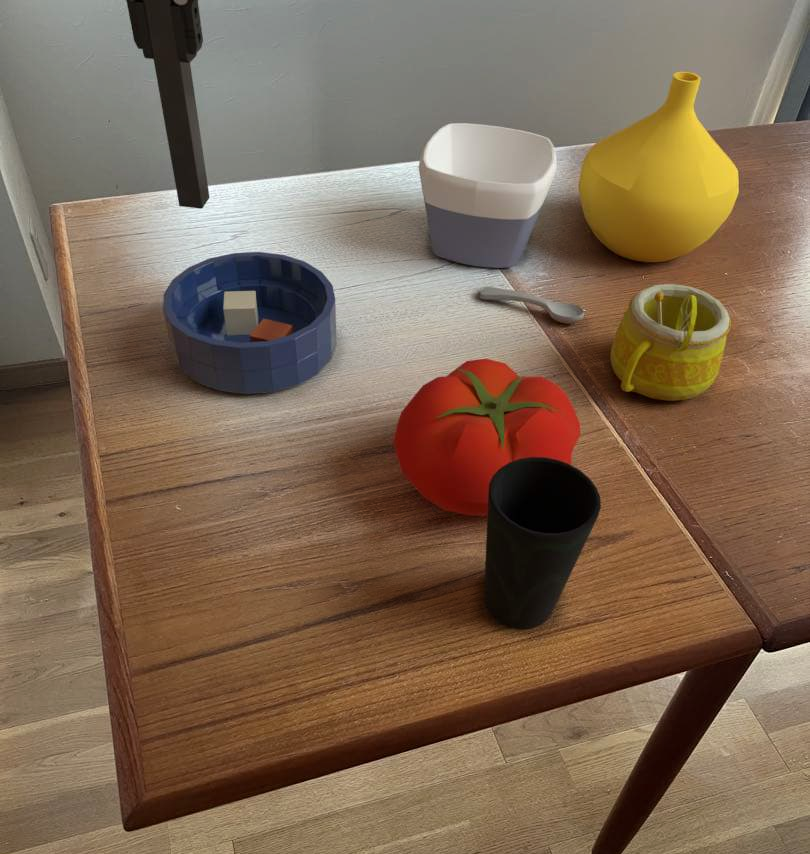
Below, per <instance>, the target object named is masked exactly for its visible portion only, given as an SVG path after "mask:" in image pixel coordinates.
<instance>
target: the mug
mask: <svg viewBox="0 0 810 854" xmlns="http://www.w3.org/2000/svg"><path fill="white" fill-rule="evenodd" d="M731 326H732V318H731V316H730V314H729V313H728V311H727V309H726V308H725V307H724V305H723V304H722V302H721V301H720V300H718V299H717V298H715V297H713V296H712V295H710V294H709V293H708V292H706V291H703V290H701V289H698V288H695V287H692V286H689V285H682V284H675V283H663V284H654V285H652V286H649V287H646V288H644V289H641V290H639V291H638V292H637V293H636V294H634V295H633V296H632V298H631V299H630V300H629V302H628V308H627V309H626V311H625V312H624V315H623V317H622V319H621V321H620V323H619V325H618V328H617V330H616V332H615V334H614V339H613V342H612V345H611V349H610V358H609V359H610V363H611V368H612V370H613V372H614V374H615V376H616V377H617V378H618V380H620V382H621V383H620V388H621V390H622V391H623V392H625V393H626V392H627V393H628V392H632V393H637V394H639V395H642V396H645V397H646V398H647V397H648V398H650V399H653V400H662V401H667V402H672V401H673V402H674V401H684V400H685V401H686V400H690V399H693V398H696V397H698V396H699V395H701V394H703V393H704V392H705V391H707V390H708V389H709V388H710V387H711V386H712V385H713V384H714V382H715V380H716V378H717V376H718V374H719V371H720V368H721V364H722V360H723V356H724V351H725V347H726V343H727V335H728V334H729V332H730V330H731Z"/></svg>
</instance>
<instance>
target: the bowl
mask: <svg viewBox="0 0 810 854" xmlns="http://www.w3.org/2000/svg"><path fill="white" fill-rule="evenodd" d="M557 159H558V158H557V151H556V149H555V146H554V144H553V142H552V141H551V139H550V138H549V137H547V136H543V135H540V134H537V133H534V132H529V131H525V130H521V129H514V128H510V127H505V126H504V127H503V126H496V125H489V124H481V123H480V124H479V123H466V122H463V123H461V122H460V123H457V122H456V123H454V122H453V123H447V124H445V125H443V126H442V127H440V128H439V129H438V130H437V131H436V132H435V133H434V134H433V135H432V136H431V137H430V138H429V140H428V141H427V143H426V144H425V146H424V148H423V149H422V152H421V155H420V157H419V161H418V172H419V178H420V185H421V191H422V196H423V202H424V208H425V215H426V220H427V227H428V232H429V233H428V234H429V239H430V246H431V251H432V253H433V255H435V256H437V257H439V258H441V259H444V260H448V261H451V262H454V263H457V264H462V265H467V266H472V267H480V268H492V269H493V268H494V269H508V268H511V267H512V266H514V265H515V264H517V263H518V261H519V260H520V259H521V257H522V256H523V254H524V252H525V251H526V247H527V245H528V243H529V241H530V238H531V235H532V232H533V230H534V228H535V225H536V222H537V220H538V217H539V215H540V213H541V210H542V207H543V205H544V202H545V200H546V198H547V196H548V192H549V191H550V187H551V185H552V183H553V180H554V177H555V175H556V173H557V165H558V161H557Z"/></svg>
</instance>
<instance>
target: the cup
mask: <svg viewBox="0 0 810 854" xmlns="http://www.w3.org/2000/svg"><path fill="white" fill-rule="evenodd" d="M601 503H602V502H601V495H600V493H599V490H598V488H597V486H596V485H595V483H594V482H593V481H592V479H591V478H590V477H589V476H587V475H586V474H585V473H584V472H583V471H581V470H580V469H578V468H577V467H575V466H573V465H572V464H571V465H570V464H568V463H565V462H562V461H559V460H556V459H551V458H546V457H529V458H522V459H518V460H515V461H512V462H510V463H508V464H506V465H504V466H503V467H501V468H500V469H499V470H498V471H497V472H496V473H495V474H494V475H493V477H492V479H491V481H490V484H489V493H488V515H486V517H487V519H486V537H485V538H486V541H485V542H486V543H485V561H484V562H485V565H484V585H483V586H484V587H483V602H484V606H485V609H486V610H487V612H488V613H489V615H490V616H491V617H492V618H493V619H494V620H495V621H497V622H498V623H499V624H501V625H503V626H505V627H508V628H510V629H516V630H531V629H534V628H535V629H536V628H537V627H540V626H542V625H544V623H546V622H547V621H548V620H549V619H550V617H551V616H552V615H553V612H554V610H555V608H556V606H557V604H558V602H559V599H560V597H561V595H562V594H563V591H564V589H565V587H566V585H567V583H568V581H569V579H570V576H571V574H572V572H573V571H574V568H575V566H576V564H577V562H578V560H579V558H580V555H581V553H582V551H583V549H584V548H585V545H586V543H587V541H588V539H589V537H590V535H591V532H592V530H593V528H594V526H595V524H596V522H597V520H598V518H599V515H600V512H601V508H602V506H601Z"/></svg>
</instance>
